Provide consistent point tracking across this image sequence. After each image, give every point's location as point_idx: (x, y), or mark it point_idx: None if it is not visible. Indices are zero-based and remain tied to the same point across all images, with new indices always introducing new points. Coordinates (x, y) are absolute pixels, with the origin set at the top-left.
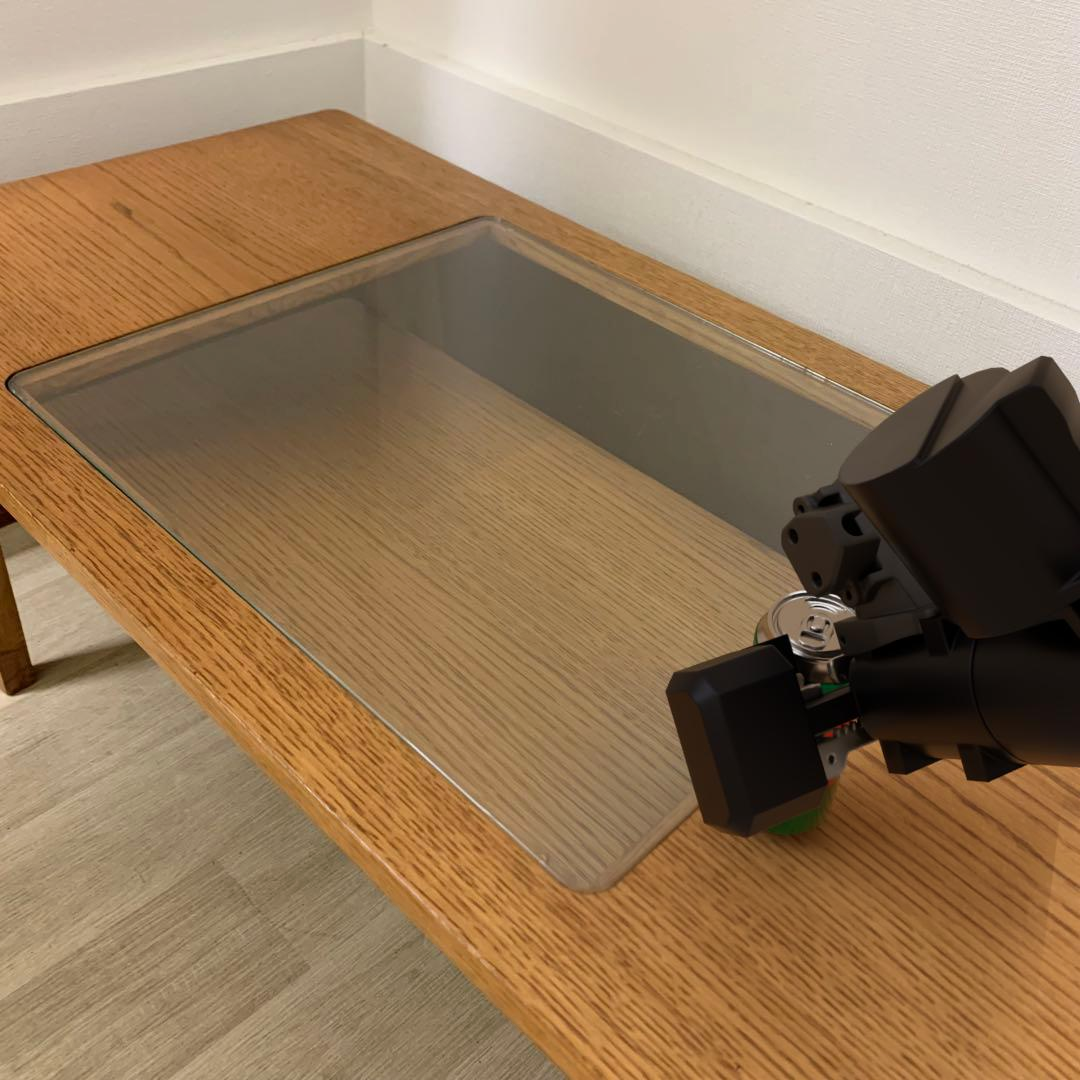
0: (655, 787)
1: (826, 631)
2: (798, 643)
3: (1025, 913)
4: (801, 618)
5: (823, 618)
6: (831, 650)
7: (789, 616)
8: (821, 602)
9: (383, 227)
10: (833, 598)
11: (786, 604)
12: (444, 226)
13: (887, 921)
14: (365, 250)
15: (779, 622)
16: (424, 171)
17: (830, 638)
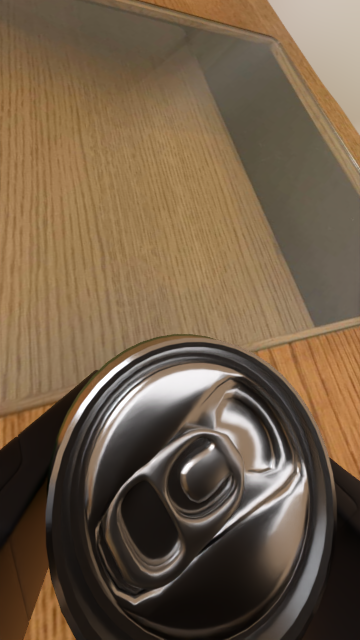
0: (91, 360)
1: (204, 521)
2: (90, 530)
3: None
4: (178, 430)
5: (229, 464)
6: (158, 633)
7: (152, 408)
8: (261, 400)
9: (225, 15)
10: (292, 407)
11: (178, 367)
12: (252, 30)
13: None
14: (209, 17)
15: (116, 410)
16: (263, 8)
17: (196, 559)
